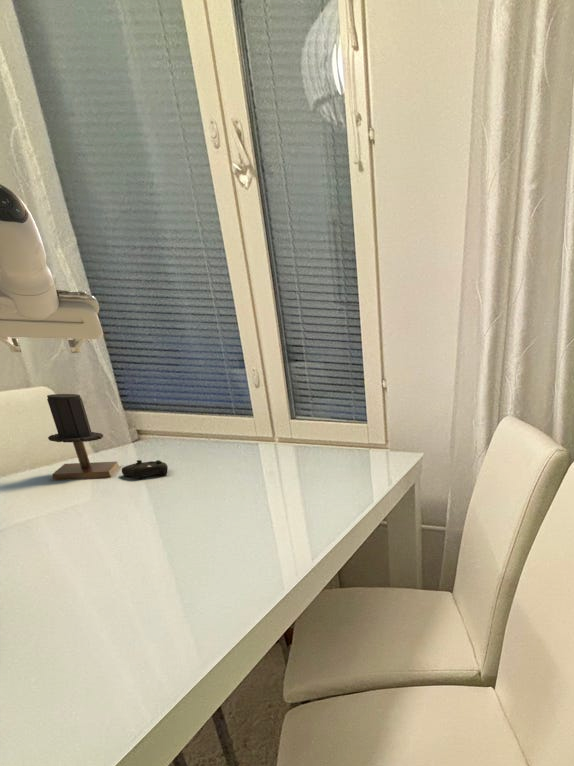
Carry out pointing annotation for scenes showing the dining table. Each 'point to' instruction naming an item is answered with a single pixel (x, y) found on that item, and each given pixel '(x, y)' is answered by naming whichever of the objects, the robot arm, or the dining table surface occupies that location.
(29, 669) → the dining table surface
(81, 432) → the hat
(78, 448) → the hat stand
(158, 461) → the gaming controller
